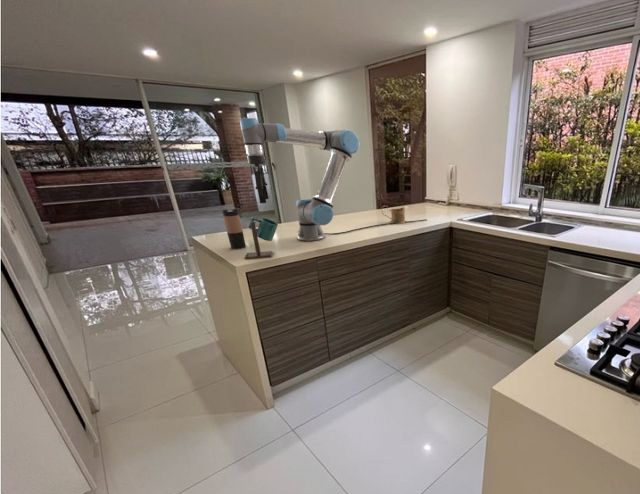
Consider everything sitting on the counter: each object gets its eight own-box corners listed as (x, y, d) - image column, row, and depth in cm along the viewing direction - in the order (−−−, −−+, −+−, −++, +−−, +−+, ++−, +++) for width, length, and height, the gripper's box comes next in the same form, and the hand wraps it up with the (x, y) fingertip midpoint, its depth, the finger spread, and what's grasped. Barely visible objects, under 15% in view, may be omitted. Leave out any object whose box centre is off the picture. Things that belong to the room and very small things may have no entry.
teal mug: (272, 238, 179) (278, 223, 176) (271, 242, 172) (277, 226, 170) (248, 229, 173) (254, 213, 171) (245, 232, 166) (252, 216, 164)
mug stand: (273, 249, 182) (267, 217, 175) (271, 257, 170) (264, 222, 163) (249, 251, 179) (242, 218, 171) (245, 259, 167) (237, 223, 160)
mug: (382, 221, 253) (381, 204, 248) (405, 220, 254) (405, 204, 249) (382, 224, 242) (381, 207, 237) (406, 223, 244) (406, 206, 239)
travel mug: (239, 249, 183) (231, 211, 174) (227, 248, 184) (218, 211, 176) (249, 245, 189) (241, 209, 181) (237, 244, 191) (228, 208, 183)
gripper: (250, 154, 169) (259, 198, 178) (243, 155, 148) (253, 205, 157) (266, 154, 172) (274, 197, 180) (261, 155, 150) (270, 204, 159)
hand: (264, 201), depth 169 cm, fingers open, 13 cm apart
